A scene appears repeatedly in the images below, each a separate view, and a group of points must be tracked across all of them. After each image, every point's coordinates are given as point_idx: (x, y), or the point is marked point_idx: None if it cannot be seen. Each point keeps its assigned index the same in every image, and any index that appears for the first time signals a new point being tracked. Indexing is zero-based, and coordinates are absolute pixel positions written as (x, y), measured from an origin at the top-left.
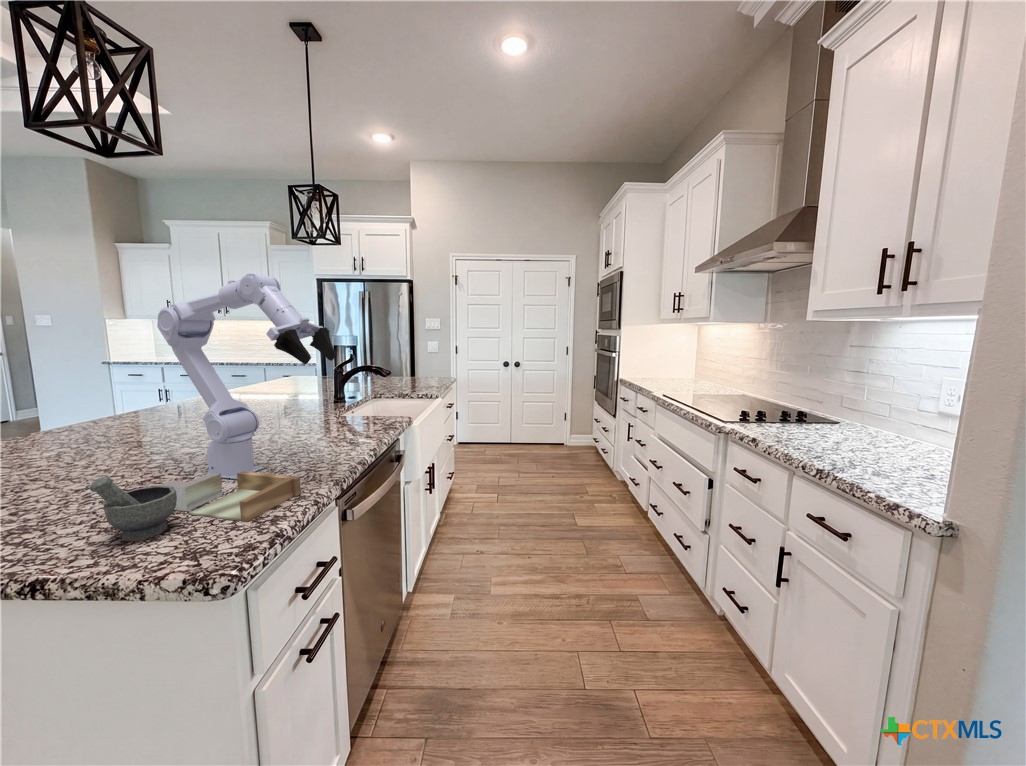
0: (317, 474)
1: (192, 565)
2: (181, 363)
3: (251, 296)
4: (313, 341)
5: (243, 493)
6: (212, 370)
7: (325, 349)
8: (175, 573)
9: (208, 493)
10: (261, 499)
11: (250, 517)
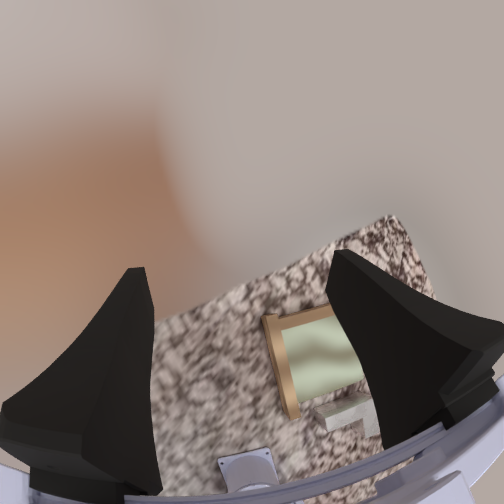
0: (189, 363)
1: (406, 258)
2: None
3: None
4: (150, 474)
5: (302, 385)
6: None
7: (139, 351)
8: (415, 258)
9: (336, 404)
10: None
11: None
